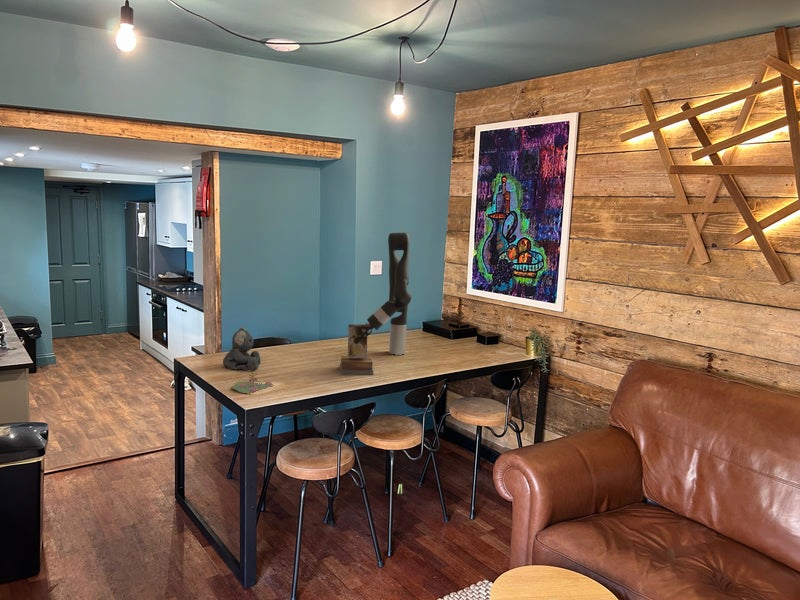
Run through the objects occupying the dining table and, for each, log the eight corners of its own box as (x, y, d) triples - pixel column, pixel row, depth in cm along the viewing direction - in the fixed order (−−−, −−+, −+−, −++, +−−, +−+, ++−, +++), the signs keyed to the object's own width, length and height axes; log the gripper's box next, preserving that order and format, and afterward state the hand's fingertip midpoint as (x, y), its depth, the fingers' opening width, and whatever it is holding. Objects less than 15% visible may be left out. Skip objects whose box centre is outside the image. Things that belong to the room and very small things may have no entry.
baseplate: (339, 366, 307) (339, 363, 307) (370, 367, 309) (370, 363, 309) (340, 374, 293) (341, 370, 293) (373, 374, 296) (373, 370, 295)
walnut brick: (340, 363, 306) (341, 356, 305) (370, 363, 308) (370, 356, 308) (341, 369, 294) (342, 361, 294) (372, 370, 296) (372, 362, 296)
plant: (274, 378, 283) (274, 360, 281) (296, 389, 267) (296, 370, 266) (223, 386, 267) (223, 366, 265) (243, 398, 251) (244, 378, 250)
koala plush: (258, 371, 291) (258, 332, 288) (219, 371, 288) (220, 331, 285) (261, 362, 308) (261, 325, 305) (225, 362, 305) (225, 324, 302)
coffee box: (365, 355, 304) (366, 324, 302) (366, 358, 298) (368, 326, 296) (347, 355, 303) (348, 324, 300) (348, 358, 296) (349, 326, 294)
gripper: (372, 310, 305) (348, 333, 305) (374, 315, 291) (349, 339, 291) (382, 321, 307) (358, 343, 307) (385, 326, 293) (360, 350, 293)
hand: (354, 341), depth 299 cm, fingers closed on coffee box, 6 cm apart
